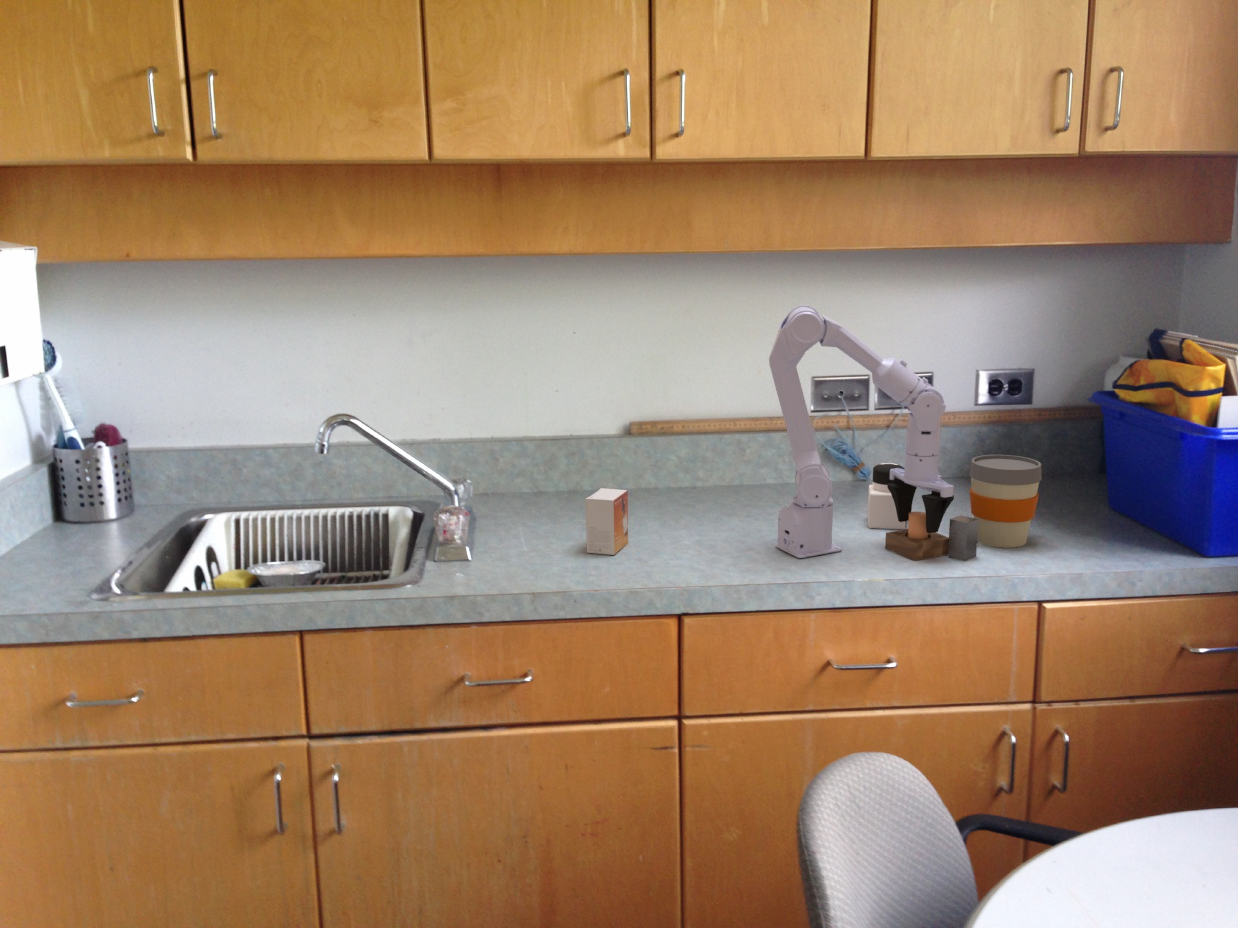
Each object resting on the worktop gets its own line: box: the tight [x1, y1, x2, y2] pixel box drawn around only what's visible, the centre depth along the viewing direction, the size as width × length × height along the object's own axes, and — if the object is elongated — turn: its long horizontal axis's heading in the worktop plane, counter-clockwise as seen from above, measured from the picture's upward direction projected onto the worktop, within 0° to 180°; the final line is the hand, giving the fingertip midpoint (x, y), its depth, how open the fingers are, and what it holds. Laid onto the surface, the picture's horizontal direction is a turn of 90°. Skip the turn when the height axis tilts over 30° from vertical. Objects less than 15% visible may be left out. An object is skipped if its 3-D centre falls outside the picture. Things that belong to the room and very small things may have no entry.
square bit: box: [947, 514, 979, 562], centre depth 184 cm, size 4×4×7 cm
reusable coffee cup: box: [968, 454, 1043, 549], centre depth 192 cm, size 12×12×15 cm
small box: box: [585, 487, 629, 556], centre depth 192 cm, size 8×6×10 cm
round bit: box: [907, 511, 928, 539], centre depth 187 cm, size 4×4×7 cm
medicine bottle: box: [867, 462, 908, 530], centre depth 203 cm, size 7×7×12 cm
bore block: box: [884, 528, 949, 562], centre depth 188 cm, size 8×8×3 cm
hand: (917, 526), depth 187 cm, fingers open, 7 cm apart
